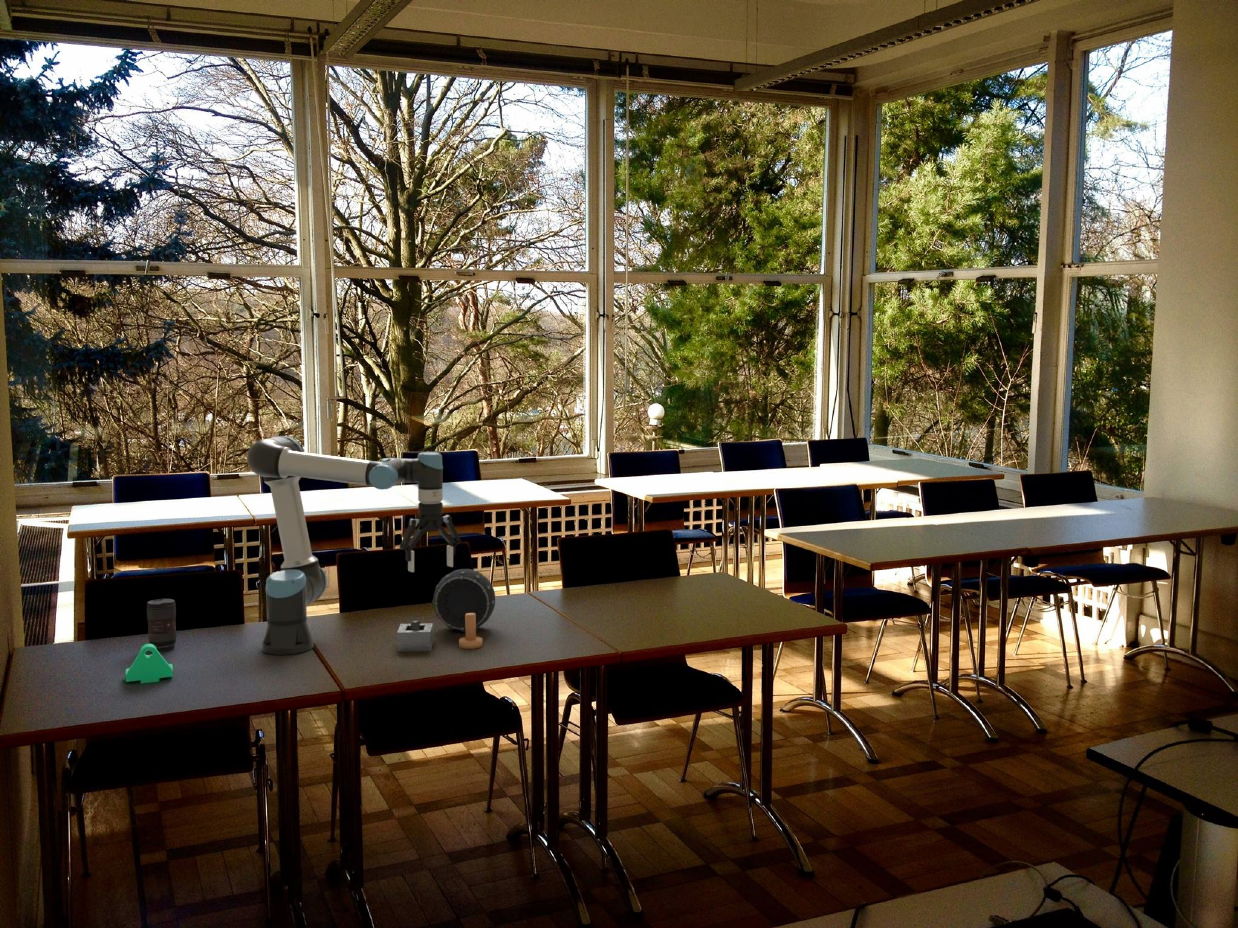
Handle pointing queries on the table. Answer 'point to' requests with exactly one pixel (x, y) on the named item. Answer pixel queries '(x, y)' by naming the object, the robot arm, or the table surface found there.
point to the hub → (470, 633)
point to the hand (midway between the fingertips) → (430, 568)
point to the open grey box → (415, 638)
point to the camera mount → (149, 666)
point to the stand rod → (415, 625)
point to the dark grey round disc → (464, 598)
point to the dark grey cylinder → (162, 624)
